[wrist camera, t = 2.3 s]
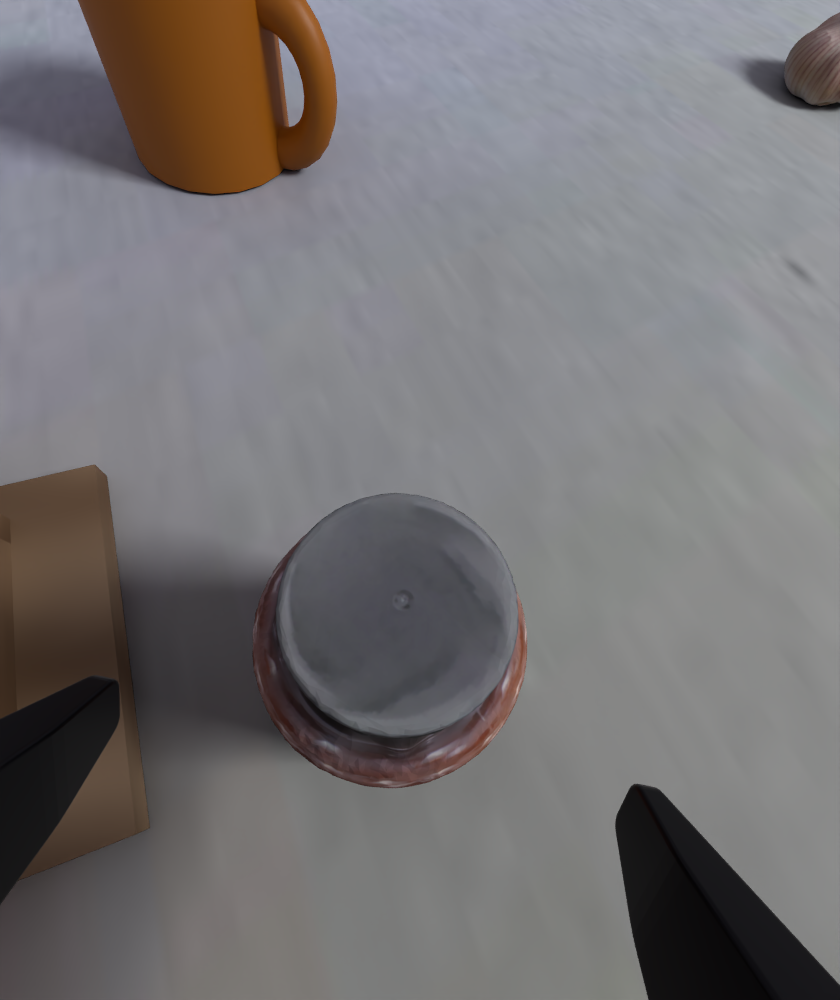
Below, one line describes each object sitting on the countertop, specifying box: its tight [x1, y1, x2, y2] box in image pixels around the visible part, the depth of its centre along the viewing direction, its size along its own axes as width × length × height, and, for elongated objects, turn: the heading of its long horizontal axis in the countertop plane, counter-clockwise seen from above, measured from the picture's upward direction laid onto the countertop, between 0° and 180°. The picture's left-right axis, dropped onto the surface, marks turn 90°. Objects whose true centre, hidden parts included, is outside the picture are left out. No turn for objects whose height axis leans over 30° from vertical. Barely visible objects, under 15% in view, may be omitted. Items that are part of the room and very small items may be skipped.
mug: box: [78, 0, 337, 194], centre depth 25 cm, size 9×12×9 cm
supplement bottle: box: [253, 493, 527, 788], centre depth 13 cm, size 6×6×11 cm
